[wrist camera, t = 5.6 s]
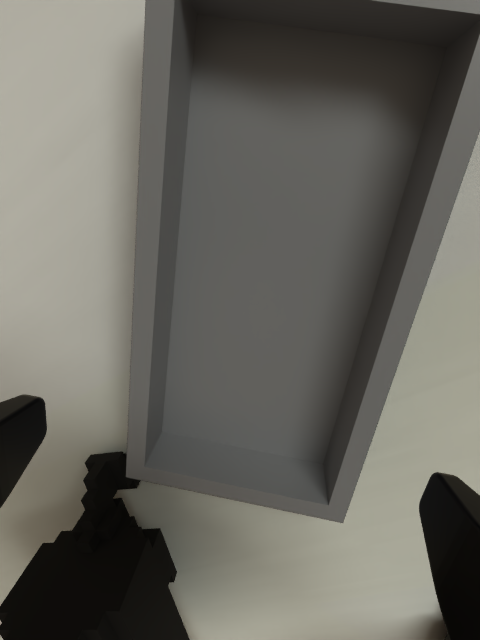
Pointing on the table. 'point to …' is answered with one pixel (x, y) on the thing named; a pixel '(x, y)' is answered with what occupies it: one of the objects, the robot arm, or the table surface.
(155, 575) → the black stepped block
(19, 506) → the table surface
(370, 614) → the table surface
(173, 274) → the gray open-top storage bin
